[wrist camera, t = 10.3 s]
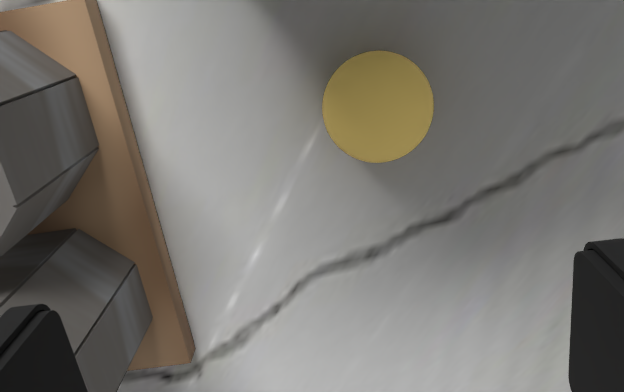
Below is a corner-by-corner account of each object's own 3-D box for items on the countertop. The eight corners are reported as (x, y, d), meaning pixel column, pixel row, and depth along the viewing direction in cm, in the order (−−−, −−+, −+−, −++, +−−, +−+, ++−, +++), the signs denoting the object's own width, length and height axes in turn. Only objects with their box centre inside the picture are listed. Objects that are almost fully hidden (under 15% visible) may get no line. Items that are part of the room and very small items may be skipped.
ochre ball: (418, 36, 23) (440, 48, 19) (427, 137, 25) (448, 168, 21) (314, 53, 24) (313, 68, 19) (329, 152, 25) (331, 185, 21)
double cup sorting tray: (95, -3, 23) (-18, 2, 15) (195, 348, 29) (151, 477, 22) (-127, 35, 24) (-341, 59, 16) (19, 370, 30) (-85, 503, 22)
